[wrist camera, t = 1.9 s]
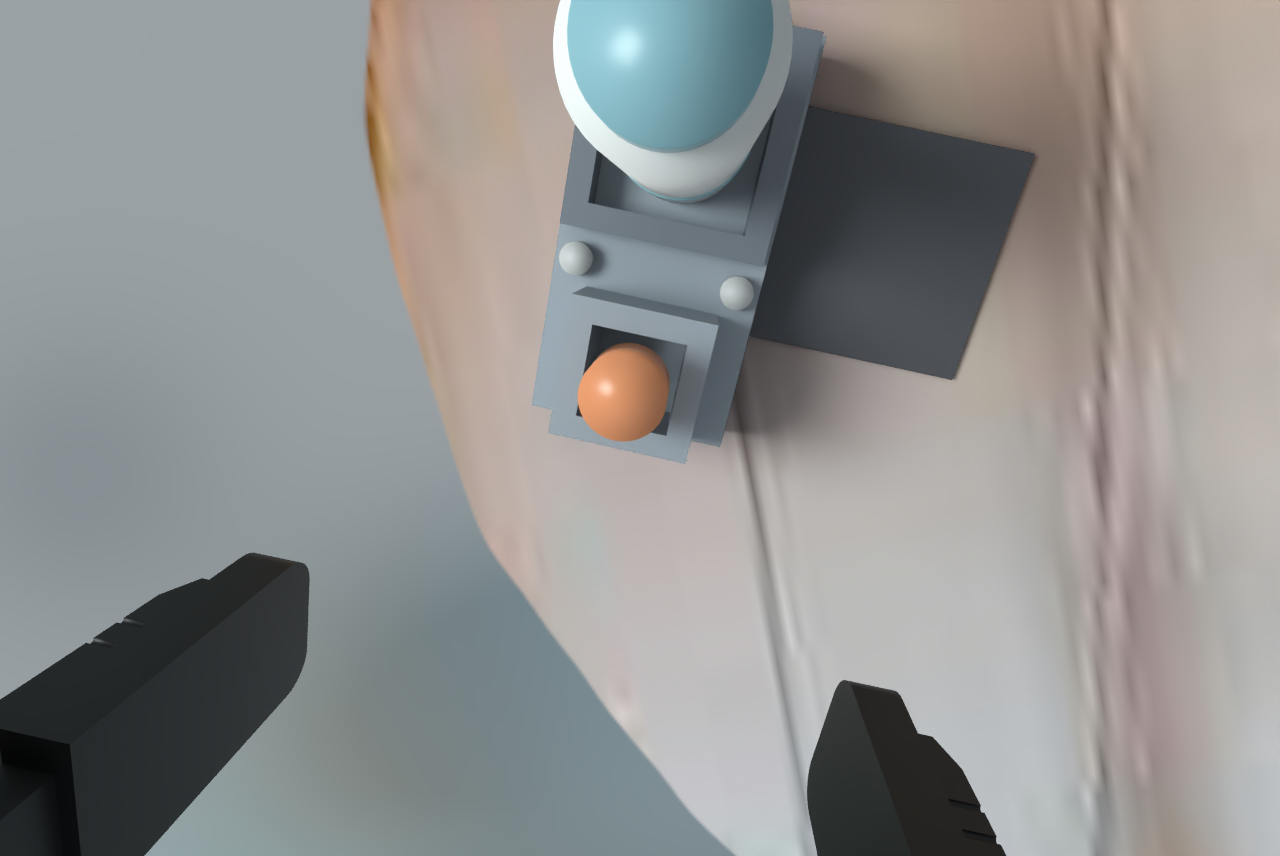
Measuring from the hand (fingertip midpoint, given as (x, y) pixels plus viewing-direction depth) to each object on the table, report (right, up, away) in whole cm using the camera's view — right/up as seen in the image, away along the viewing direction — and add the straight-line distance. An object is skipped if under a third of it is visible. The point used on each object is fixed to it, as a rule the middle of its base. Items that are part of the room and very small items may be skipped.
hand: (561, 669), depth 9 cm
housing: (+2, +12, +20) cm, 23 cm away
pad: (+12, +12, +19) cm, 25 cm away
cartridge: (+3, +15, +16) cm, 22 cm away
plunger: (+1, +5, +15) cm, 16 cm away
